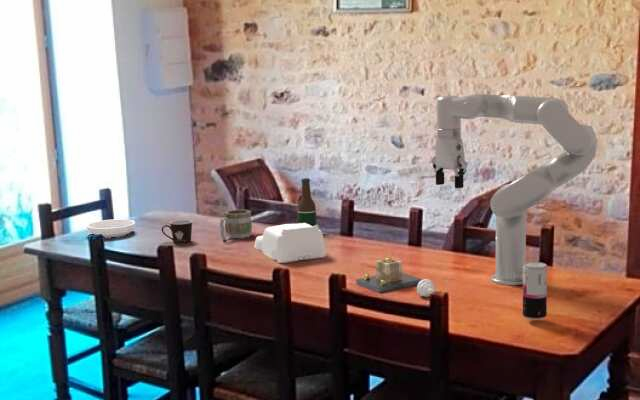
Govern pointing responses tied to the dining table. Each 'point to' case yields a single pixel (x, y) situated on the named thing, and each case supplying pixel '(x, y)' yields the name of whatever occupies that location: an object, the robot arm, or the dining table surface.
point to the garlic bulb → (425, 288)
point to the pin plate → (384, 286)
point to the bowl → (111, 227)
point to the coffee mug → (180, 231)
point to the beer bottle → (306, 205)
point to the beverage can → (534, 290)
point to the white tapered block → (292, 242)
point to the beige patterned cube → (389, 270)
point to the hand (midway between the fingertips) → (449, 186)
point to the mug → (236, 224)
